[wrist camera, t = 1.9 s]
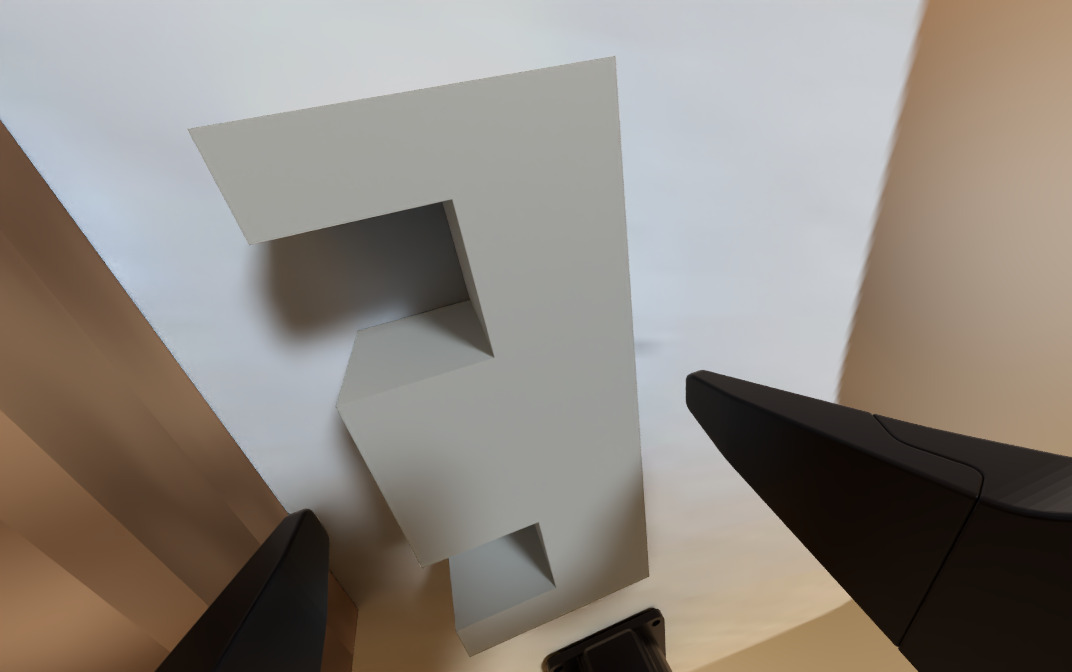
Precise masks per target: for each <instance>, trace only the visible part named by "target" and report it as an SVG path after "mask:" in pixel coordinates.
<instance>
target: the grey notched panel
mask: <svg viewBox="0 0 1072 672" xmlns="http://www.w3.org/2000/svg"><path fill="white" fill-rule="evenodd" d="M187 130H188V131H189V133H190V135H191V137H192V139H193V141H194V143H195V144H196V146H197V148H198V150H199V152H200V154H201V156H202V158H203V159H204V161H205V163H206V165H207V167H208V169H209V171H210V173H211V174H212V176H213V178H214V180H215V182H216V184H217V186H218V187H219V189H220V191H221V193H222V195H223V197H224V199H225V201H226V202H227V204H228V206H229V208H230V210H231V212H232V214H233V216H234V217H235V219H236V221H237V223H238V225H239V227H240V229H241V230H242V232H243V234H244V236H245V238H246V240H247V242H248V244H249V245H251V244H256V243H260V242H265V241H269V240H274V239H278V238H282V237H287V236H291V235H296V234H300V233H305V232H309V231H313V230H318V229H322V228H327V227H331V226H336V225H340V224H344V223H349V222H353V221H358V220H362V219H367V218H371V217H375V216H380V215H384V214H389V213H393V212H397V211H402V210H406V209H411V208H415V207H420V206H424V205H428V204H433V203H437V202H443V206H444V209H445V213H446V217H447V220H448V224H449V227H450V231H451V234H452V238H453V242H454V245H455V249H456V252H457V256H458V259H459V263H460V267H461V270H462V274H463V277H464V281H465V284H466V288H467V292H468V295H469V299H470V300H468V301H464V302H461V303H457V304H453V305H450V306H446V307H442V308H439V309H435V310H432V311H428V312H424V313H421V314H417V315H414V316H410V317H406V318H403V319H399V320H396V321H392V322H388V323H385V324H381V325H377V326H374V327H370V328H367V329H363V330H359V331H358V333H357V336H356V340H355V343H354V346H353V350H352V353H351V357H350V360H349V364H348V367H347V370H346V374H345V377H344V381H343V384H342V388H341V391H340V394H339V398H338V401H337V405H336V408H337V410H338V412H339V414H340V416H341V417H342V419H343V421H344V423H345V425H346V427H347V429H348V431H349V432H350V434H351V436H352V438H353V440H354V442H355V444H356V445H357V447H358V449H359V451H360V453H361V455H362V457H363V459H364V460H365V462H366V464H367V466H368V468H369V470H370V472H371V474H372V475H373V477H374V479H375V481H376V483H377V485H378V487H379V488H380V490H381V492H382V494H383V496H384V498H385V500H386V502H387V503H388V505H389V507H390V509H391V511H392V513H393V515H394V517H395V518H396V520H397V522H398V524H399V526H400V528H401V530H402V531H403V533H404V535H405V537H406V539H407V541H408V543H409V545H410V546H411V548H412V550H413V552H414V554H415V556H416V558H417V560H418V561H419V563H420V565H421V567H422V568H424V567H427V566H429V565H432V564H434V563H437V562H439V561H442V560H445V559H447V558H449V567H450V577H451V587H452V597H453V607H454V617H455V627H456V632H457V634H458V636H459V638H460V640H461V642H462V644H463V646H464V647H465V649H466V651H467V653H468V655H469V657H471V656H473V655H476V654H478V653H480V652H482V651H485V650H487V649H489V648H491V647H493V646H496V645H498V644H500V643H502V642H505V641H507V640H509V639H511V638H513V637H516V636H518V635H520V634H522V633H525V632H527V631H529V630H531V629H533V628H536V627H538V626H540V625H542V624H545V623H547V622H549V621H551V620H553V619H556V618H558V617H560V616H562V615H565V614H567V613H569V612H571V611H573V610H576V609H578V608H580V607H582V606H585V605H587V604H589V603H591V602H593V601H596V600H598V599H600V598H602V597H605V596H607V595H609V594H611V593H613V592H616V591H618V590H620V589H622V588H625V587H627V586H629V585H631V584H633V583H636V582H638V581H640V580H642V579H645V578H647V577H649V566H648V551H647V535H646V520H645V505H644V489H643V474H642V458H641V443H640V428H639V412H638V397H637V381H636V366H635V351H634V335H633V320H632V305H631V289H630V274H629V258H628V243H627V228H626V212H625V197H624V181H623V166H622V151H621V135H620V120H619V104H618V89H617V74H616V58H615V56H613V57H607V58H601V59H595V60H589V61H584V62H578V63H572V64H566V65H560V66H554V67H548V68H543V69H537V70H531V71H525V72H519V73H513V74H507V75H501V76H496V77H490V78H484V79H478V80H472V81H466V82H460V83H455V84H449V85H443V86H437V87H431V88H425V89H419V90H414V91H408V92H402V93H396V94H390V95H384V96H378V97H372V98H367V99H361V100H355V101H349V102H343V103H337V104H331V105H326V106H320V107H314V108H308V109H302V110H296V111H290V112H284V113H279V114H273V115H267V116H261V117H255V118H249V119H243V120H238V121H232V122H226V123H220V124H214V125H208V126H202V127H196V128H191V129H187Z"/></svg>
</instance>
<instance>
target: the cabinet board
mask: <svg viewBox="0 0 1072 672" xmlns="http://www.w3.org/2000/svg"><path fill="white" fill-rule="evenodd" d="M287 515H288V513H287V512H286V511H285V509H284V508H283V506H282V505H281V504H280V502H279V501H278V500H277V498H276V497H275V495H274V494H273V493H272V491H271V490H270V489H269V487H268V486H267V485H266V483H265V482H264V480H263V479H262V478H261V476H260V475H259V474H258V472H257V471H256V469H255V468H254V467H253V465H252V464H251V463H250V461H249V460H248V459H247V457H246V456H245V454H244V453H243V452H242V450H241V449H240V448H239V446H238V445H237V444H236V442H235V441H234V439H233V438H232V437H231V435H230V434H229V433H228V431H227V430H226V428H225V427H224V426H223V424H222V423H221V422H220V420H219V419H218V418H217V416H216V415H215V413H214V412H213V411H212V409H211V408H210V407H209V405H208V404H207V402H206V401H205V400H204V398H203V397H202V396H201V394H200V393H199V392H198V390H197V389H196V387H195V386H194V385H193V383H192V382H191V381H190V379H189V378H188V376H187V375H186V374H185V372H184V371H183V370H182V368H181V367H180V366H179V364H178V363H177V361H176V360H175V359H174V357H173V356H172V355H171V353H170V352H169V350H168V349H167V348H166V346H165V345H164V344H163V342H162V341H161V340H160V338H159V337H158V335H157V334H156V333H155V331H154V330H153V329H152V327H151V326H150V324H149V323H148V322H147V320H146V319H145V318H144V316H143V315H142V314H141V312H140V311H139V309H138V308H137V307H136V305H135V304H134V303H133V301H132V300H131V298H130V297H129V296H128V294H127V293H126V292H125V290H124V289H123V288H122V286H121V285H120V283H119V282H118V281H117V279H116V278H115V277H114V275H113V274H112V272H111V271H110V270H109V268H108V267H107V266H106V264H105V263H104V262H103V260H102V259H101V257H100V256H99V255H98V253H97V252H96V251H95V249H94V248H93V246H92V245H91V244H90V242H89V241H88V240H87V238H86V237H85V236H84V234H83V233H82V231H81V230H80V229H79V227H78V226H77V225H76V223H75V222H74V220H73V219H72V218H71V216H70V215H69V214H68V212H67V211H66V210H65V208H64V207H63V205H62V204H61V203H60V201H59V200H58V199H57V197H56V196H55V194H54V193H53V192H52V190H51V189H50V188H49V186H48V185H47V184H46V182H45V181H44V179H43V178H42V177H41V175H40V174H39V173H38V171H37V170H36V168H35V167H34V166H33V164H32V163H31V162H30V160H29V159H28V158H27V156H26V155H25V153H24V152H23V151H22V149H21V148H20V147H19V145H18V144H17V143H16V141H15V140H14V138H13V137H12V136H11V134H10V133H9V132H8V130H7V129H6V127H5V126H4V125H3V123H2V122H1V121H0V672H154V671H155V670H156V669H157V668H158V666H159V665H160V664H161V663H162V662H163V661H164V659H165V658H166V657H167V656H168V655H169V653H170V652H171V651H172V650H173V649H174V648H175V646H176V645H177V644H178V643H179V642H180V640H181V639H182V638H183V637H184V636H185V635H186V633H187V632H188V631H189V630H190V629H191V627H192V626H193V625H194V624H195V623H196V622H197V620H198V619H199V618H200V617H201V616H202V615H203V613H204V612H205V611H206V610H207V609H208V607H209V606H210V605H211V604H212V603H213V602H214V600H215V599H216V598H217V597H218V596H219V594H220V593H221V592H222V591H223V590H224V589H225V587H226V586H227V585H228V584H229V583H230V582H231V580H232V579H233V578H234V577H235V576H236V574H237V573H238V572H239V571H240V570H241V569H242V567H243V566H244V565H245V564H246V563H247V561H248V560H249V559H250V558H251V557H252V556H253V554H254V553H255V552H256V551H257V550H258V548H259V547H260V546H261V545H262V544H263V543H264V541H265V540H266V539H267V538H268V537H269V536H270V534H271V533H272V532H273V531H274V530H275V528H276V527H277V526H278V525H279V524H280V523H281V521H282V520H283V519H284V518H285V517H286V516H287ZM357 617H358V609H357V608H356V606H355V605H354V604H353V602H352V601H351V599H350V598H349V597H348V595H347V594H346V593H345V591H344V590H343V589H342V587H341V586H340V584H339V583H338V582H337V580H336V579H335V578H334V576H333V575H332V573H331V572H330V571H329V580H328V614H327V626H326V635H325V642H324V650H323V657H322V665H321V672H351V671H352V662H353V653H354V644H355V635H356V626H357Z"/></svg>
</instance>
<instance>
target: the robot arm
mask: <svg viewBox="0 0 1072 672" xmlns="http://www.w3.org/2000/svg"><path fill="white" fill-rule="evenodd" d="M686 404H687V407H688V409H689V410H690V412H691V413H692V414H693V416H694V417H695V419H696V420H697V421H698V423H699V424H700V425H701V427H702V428H703V429H704V431H705V432H706V433H707V435H708V436H709V437H710V439H711V440H712V442H713V443H714V444H715V446H716V447H717V448H718V450H719V451H720V452H721V453H722V455H723V456H724V457H725V459H726V460H727V461H728V462H729V463H730V464H731V465H732V467H733V468H734V469H735V470H736V471H737V472H738V473H739V474H740V475H741V476H742V478H743V479H744V480H745V481H746V482H747V483H748V484H749V485H750V486H751V487H752V489H753V490H754V491H755V492H756V493H757V494H758V495H759V496H760V497H761V498H762V500H763V501H764V502H765V503H766V504H767V505H768V506H769V507H770V508H771V509H772V511H773V512H774V513H775V514H776V515H777V516H778V517H779V518H780V519H781V520H782V522H783V523H784V524H785V525H786V526H787V527H788V528H789V529H790V530H791V531H792V533H793V534H794V535H795V536H796V537H797V538H798V539H799V540H800V541H801V542H802V544H803V545H804V546H805V547H806V548H807V549H808V550H809V551H810V552H811V553H812V555H813V556H814V557H815V558H816V559H817V560H818V561H819V562H820V563H821V564H822V566H823V567H824V568H825V569H826V570H827V571H828V572H829V573H830V574H831V575H832V577H833V578H834V579H835V580H836V581H837V582H838V583H839V584H840V585H841V586H842V588H843V589H844V590H845V591H846V592H847V593H848V594H849V595H850V596H851V597H852V599H853V600H854V601H855V602H856V603H857V604H858V605H859V606H860V607H861V609H863V611H864V612H865V613H866V614H867V615H868V616H869V617H870V618H871V619H872V621H873V622H874V623H875V624H876V625H877V626H878V627H879V628H880V629H881V630H882V631H883V633H884V634H885V635H886V636H887V637H888V638H889V639H890V640H891V641H892V643H893V644H894V645H895V646H897V647H898V649H899V651H900V652H901V653H902V654H903V655H904V656H905V657H906V658H907V660H908V661H909V662H910V663H911V664H912V665H913V666H914V667H915V668H916V669H917V670H918V672H1072V457H1068V456H1062V455H1057V454H1053V453H1048V452H1043V451H1038V450H1034V449H1029V448H1024V447H1019V446H1014V445H1009V444H1004V443H999V442H995V441H990V440H985V439H981V438H975V437H971V436H966V435H962V434H957V433H952V432H947V431H943V430H939V429H933V428H929V427H925V426H921V425H917V424H913V423H909V422H904V421H901V420H897V419H893V418H889V417H885V416H881V415H877V414H873V415H872V414H871V413H869V412H865V411H862V410H857V409H854V408H850V407H846V406H842V405H838V404H834V403H830V402H826V401H823V400H819V399H815V398H811V397H807V396H803V395H799V394H795V393H791V392H787V391H784V390H780V389H776V388H772V387H768V386H764V385H760V384H756V383H752V382H749V381H745V380H741V379H737V378H733V377H729V376H725V375H721V374H717V373H713V372H710V371H706V370H699V371H697V372H694V373H691V374H689V375H688V376H687V378H686ZM328 580H329V537H328V534H327V532H326V530H325V529H324V527H323V526H322V524H321V523H320V521H319V520H318V518H317V517H316V515H315V514H314V513H313V511H312V510H310V509H303V510H300V511H297V512H295V513H292V514H289V515H287V516H286V517H285V518H284V519H283V520H282V521H281V523H280V524H279V525H278V526H277V527H276V528H275V530H274V531H273V532H272V533H271V534H270V536H269V537H268V538H267V539H266V540H265V541H264V543H263V544H262V545H261V546H260V547H259V548H258V550H257V551H256V552H255V553H254V554H253V556H252V557H251V558H250V559H249V560H248V561H247V563H246V564H245V565H244V566H243V567H242V569H241V570H240V571H239V572H238V573H237V574H236V576H235V577H234V578H233V579H232V580H231V582H230V583H229V584H228V585H227V586H226V587H225V589H224V590H223V591H222V592H221V593H220V594H219V596H218V597H217V598H216V599H215V600H214V602H213V603H212V604H211V605H210V606H209V607H208V609H207V610H206V611H205V612H204V613H203V615H202V616H201V617H200V618H199V619H198V620H197V622H196V623H195V624H194V625H193V626H192V627H191V629H190V630H189V631H188V632H187V633H186V635H185V636H184V637H183V638H182V639H181V640H180V642H179V643H178V644H177V645H176V646H175V648H174V649H173V650H172V651H171V652H170V653H169V655H168V656H167V657H166V658H165V659H164V661H163V662H162V663H161V664H160V665H159V666H158V668H157V669H156V670H155V671H154V672H321V665H322V657H323V650H324V642H325V635H326V626H327V614H328ZM546 666H547V669H548V672H672V670H671V668H670V666H669V664H668V662H667V660H666V650H665V623H664V617H663V616H662V614H661V612H660V610H659V609H654V610H651V611H649V612H647V613H644V614H642V615H640V616H638V617H636V618H634V619H632V620H630V621H627V622H625V623H623V624H621V625H619V626H617V627H615V628H612V629H610V630H608V631H606V632H604V633H602V634H600V635H597V636H595V637H593V638H591V639H589V640H587V641H585V642H583V643H580V644H578V645H576V646H574V647H572V648H570V649H568V650H565V651H563V652H561V653H559V654H557V655H555V656H553V657H551V658H550V659H549V660H548V661H547V663H546Z"/></svg>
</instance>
